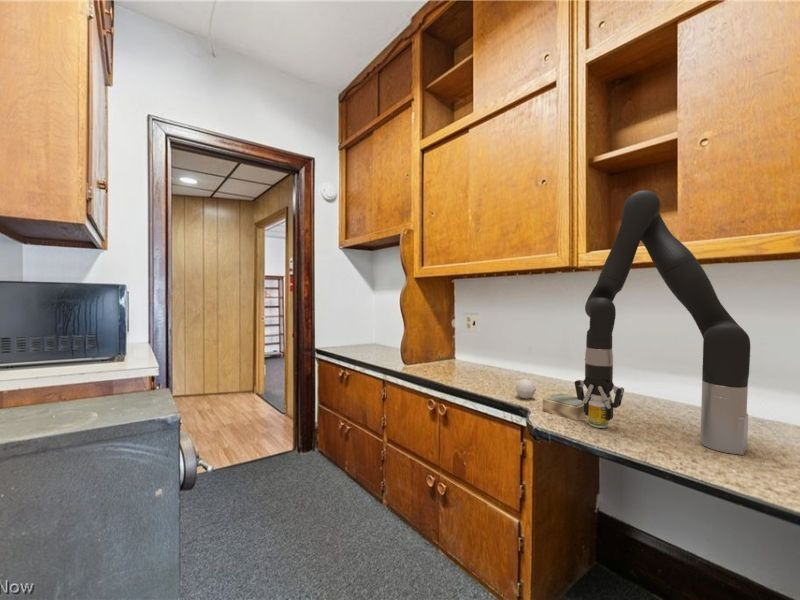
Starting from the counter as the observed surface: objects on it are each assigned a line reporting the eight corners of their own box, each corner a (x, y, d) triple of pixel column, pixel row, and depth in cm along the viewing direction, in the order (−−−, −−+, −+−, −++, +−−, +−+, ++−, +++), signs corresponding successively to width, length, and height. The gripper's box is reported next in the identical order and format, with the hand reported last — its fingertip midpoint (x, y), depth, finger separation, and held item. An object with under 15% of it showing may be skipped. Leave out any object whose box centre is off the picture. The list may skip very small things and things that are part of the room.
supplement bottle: (593, 420, 120) (594, 390, 120) (611, 425, 115) (611, 394, 115) (584, 424, 117) (585, 393, 116) (602, 429, 112) (602, 397, 112)
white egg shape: (531, 402, 140) (531, 382, 139) (512, 398, 145) (512, 379, 144) (541, 396, 147) (541, 377, 147) (522, 393, 152) (523, 375, 152)
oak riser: (594, 412, 129) (594, 400, 128) (577, 420, 121) (577, 407, 121) (559, 404, 138) (560, 392, 138) (542, 411, 130) (542, 398, 130)
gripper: (629, 364, 112) (628, 420, 113) (580, 357, 123) (579, 409, 124) (619, 368, 108) (618, 426, 108) (569, 360, 119) (569, 414, 119)
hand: (597, 417), depth 116 cm, fingers closed on supplement bottle, 5 cm apart
